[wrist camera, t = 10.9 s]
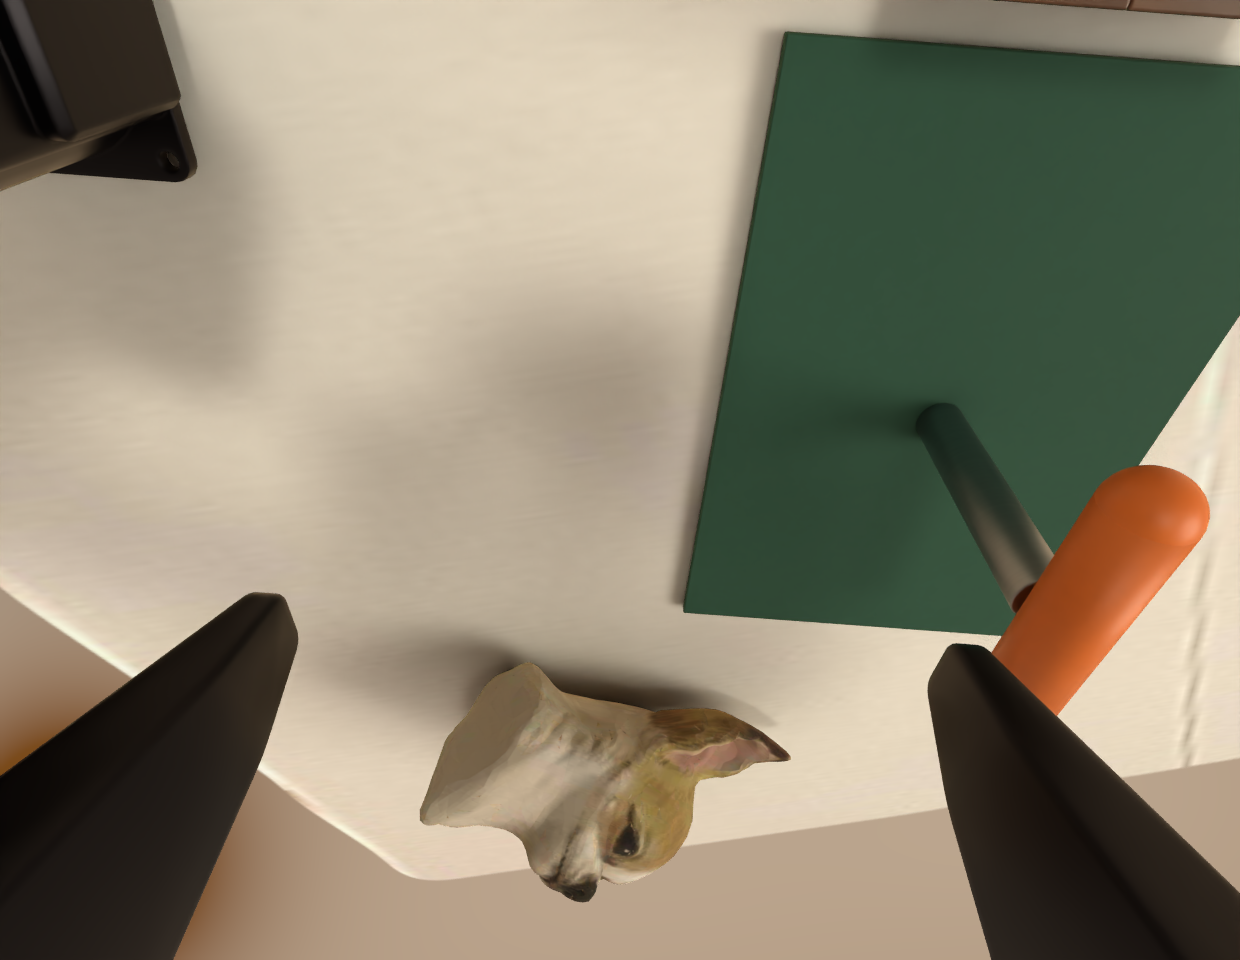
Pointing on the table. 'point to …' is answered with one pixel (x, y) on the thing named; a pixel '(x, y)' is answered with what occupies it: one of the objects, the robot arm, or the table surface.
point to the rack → (1156, 6)
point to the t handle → (1067, 555)
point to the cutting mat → (957, 312)
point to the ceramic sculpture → (584, 777)
